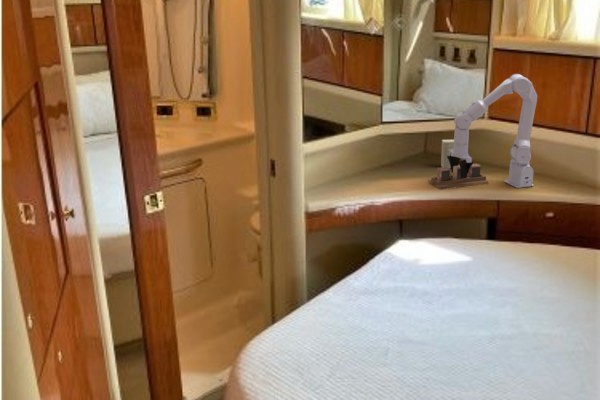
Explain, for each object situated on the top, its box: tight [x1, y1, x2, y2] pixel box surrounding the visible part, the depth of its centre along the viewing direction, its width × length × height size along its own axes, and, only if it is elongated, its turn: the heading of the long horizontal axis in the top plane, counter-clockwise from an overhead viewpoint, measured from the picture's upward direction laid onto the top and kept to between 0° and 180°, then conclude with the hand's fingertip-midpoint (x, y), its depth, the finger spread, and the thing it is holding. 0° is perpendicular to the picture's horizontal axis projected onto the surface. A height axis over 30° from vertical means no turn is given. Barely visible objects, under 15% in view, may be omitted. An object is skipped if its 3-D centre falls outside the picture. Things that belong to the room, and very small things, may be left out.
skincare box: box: [440, 138, 454, 169], centre depth 264 cm, size 6×4×12 cm
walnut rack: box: [428, 163, 489, 190], centre depth 242 cm, size 10×22×7 cm, turn 106°
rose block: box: [452, 164, 465, 180], centre depth 242 cm, size 3×4×6 cm
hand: (458, 175), depth 242 cm, fingers open, 7 cm apart
